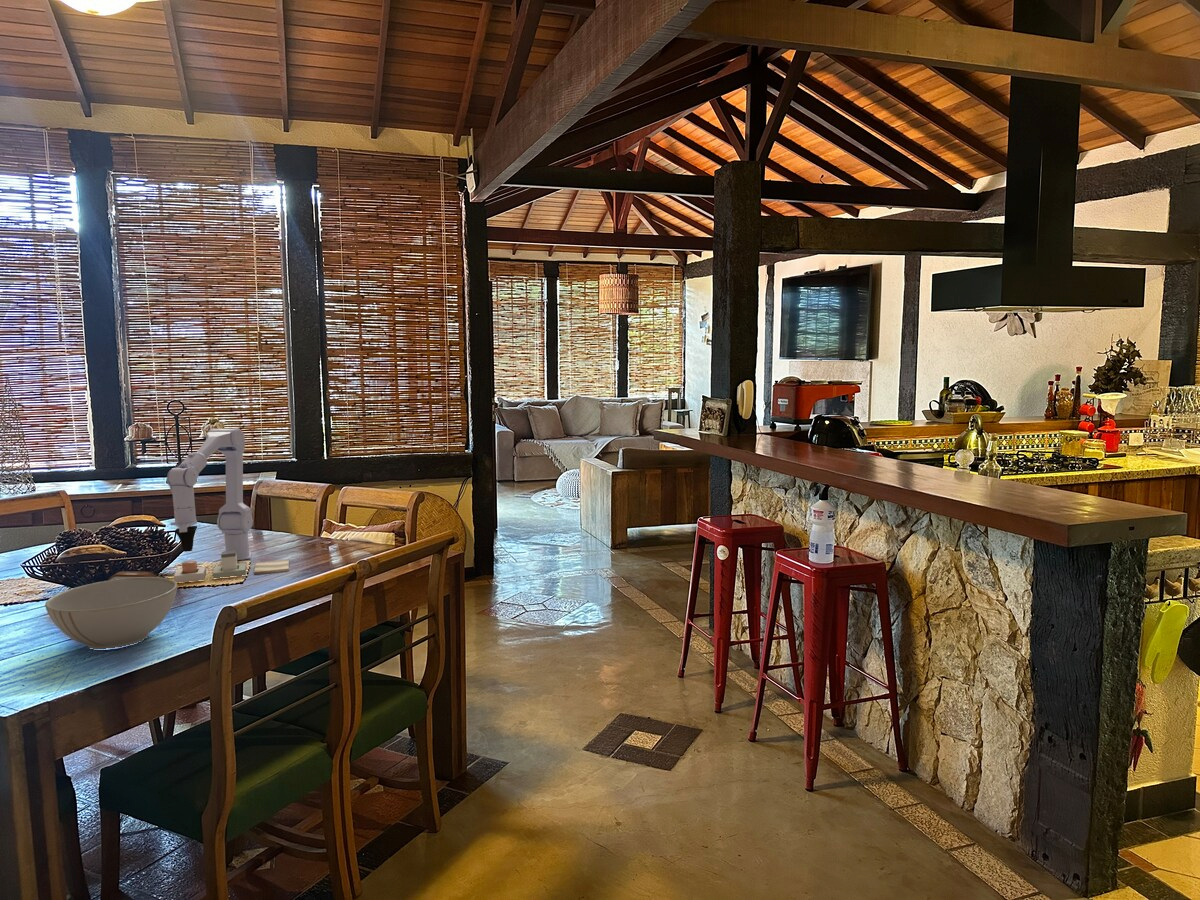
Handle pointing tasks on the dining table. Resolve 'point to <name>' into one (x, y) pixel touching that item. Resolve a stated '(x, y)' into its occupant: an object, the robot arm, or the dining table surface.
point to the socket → (230, 571)
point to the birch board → (271, 567)
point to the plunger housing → (190, 575)
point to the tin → (131, 575)
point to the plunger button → (189, 567)
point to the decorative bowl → (112, 610)
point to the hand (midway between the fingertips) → (188, 551)
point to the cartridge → (229, 560)
